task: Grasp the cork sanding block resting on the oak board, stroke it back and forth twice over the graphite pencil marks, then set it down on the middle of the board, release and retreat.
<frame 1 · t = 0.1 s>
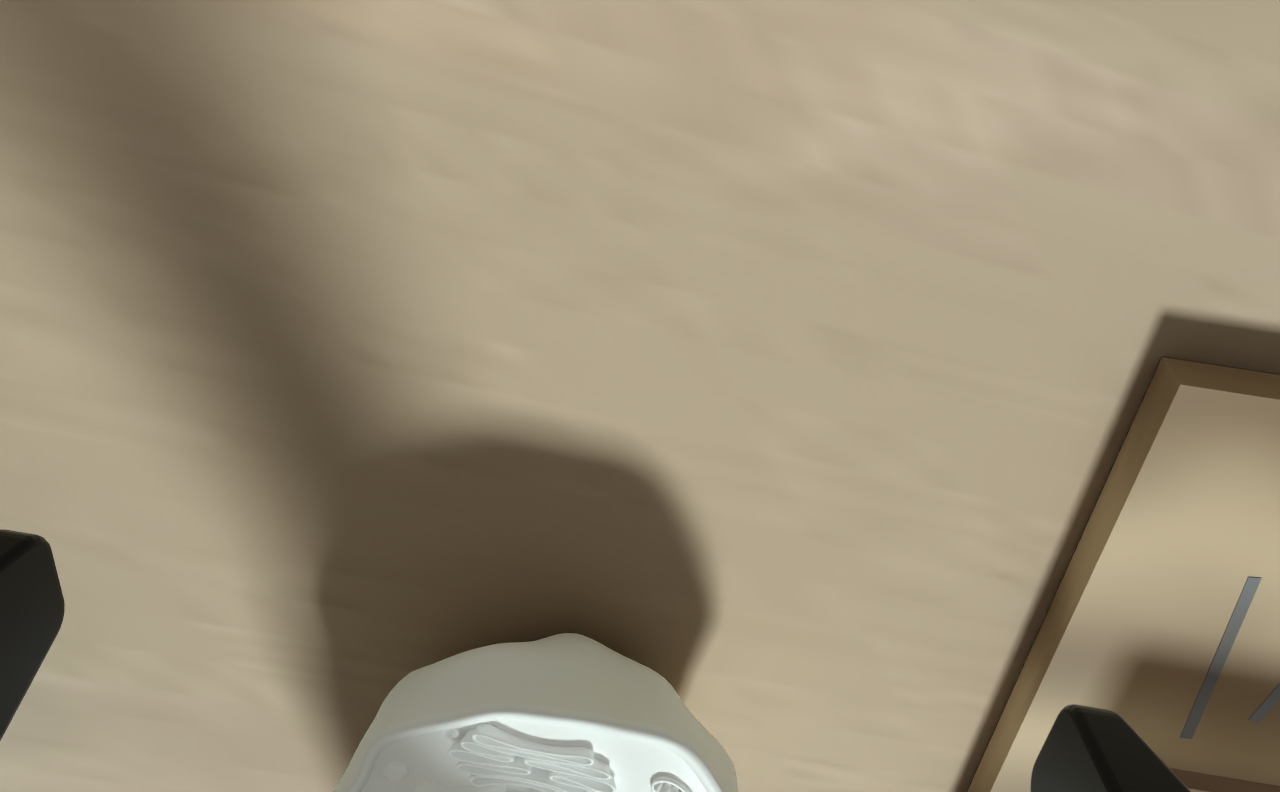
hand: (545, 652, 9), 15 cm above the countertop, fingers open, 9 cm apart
board: (1238, 678, 27), on the countertop
cell model: (557, 692, 31), on the countertop
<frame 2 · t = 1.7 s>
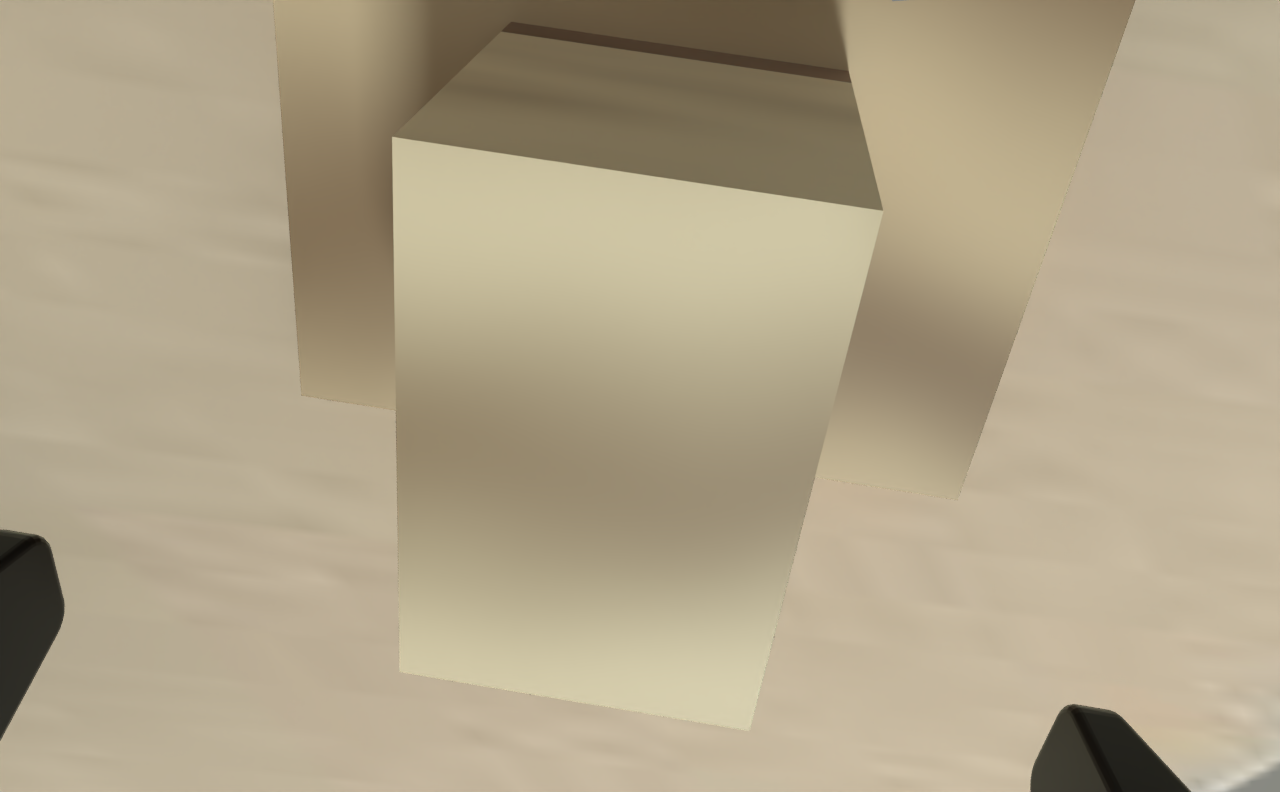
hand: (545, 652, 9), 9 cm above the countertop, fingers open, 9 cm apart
sanding block: (647, 284, 15), point 1 cm above the countertop, touching board
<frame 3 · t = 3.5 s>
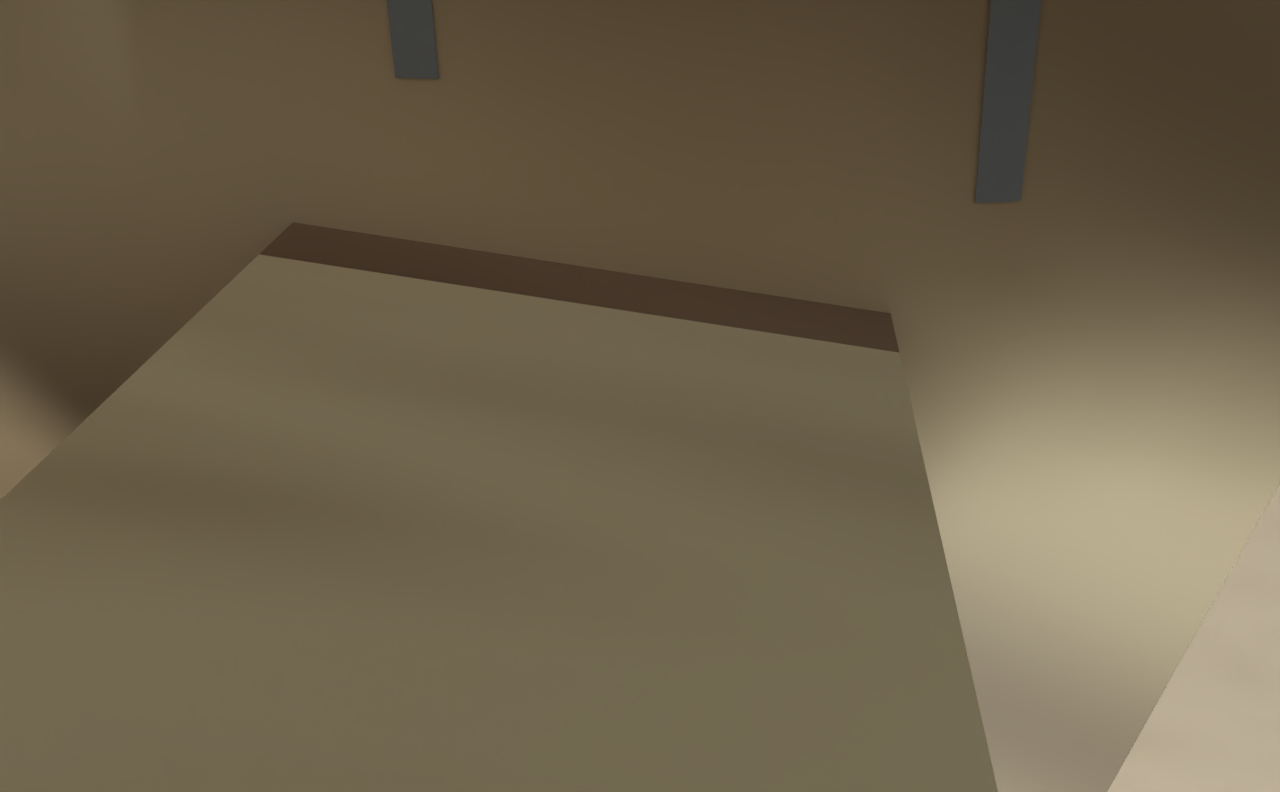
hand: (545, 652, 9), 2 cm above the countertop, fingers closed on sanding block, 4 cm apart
sanding block: (555, 611, 9), point 1 cm above the countertop, touching board, gripper
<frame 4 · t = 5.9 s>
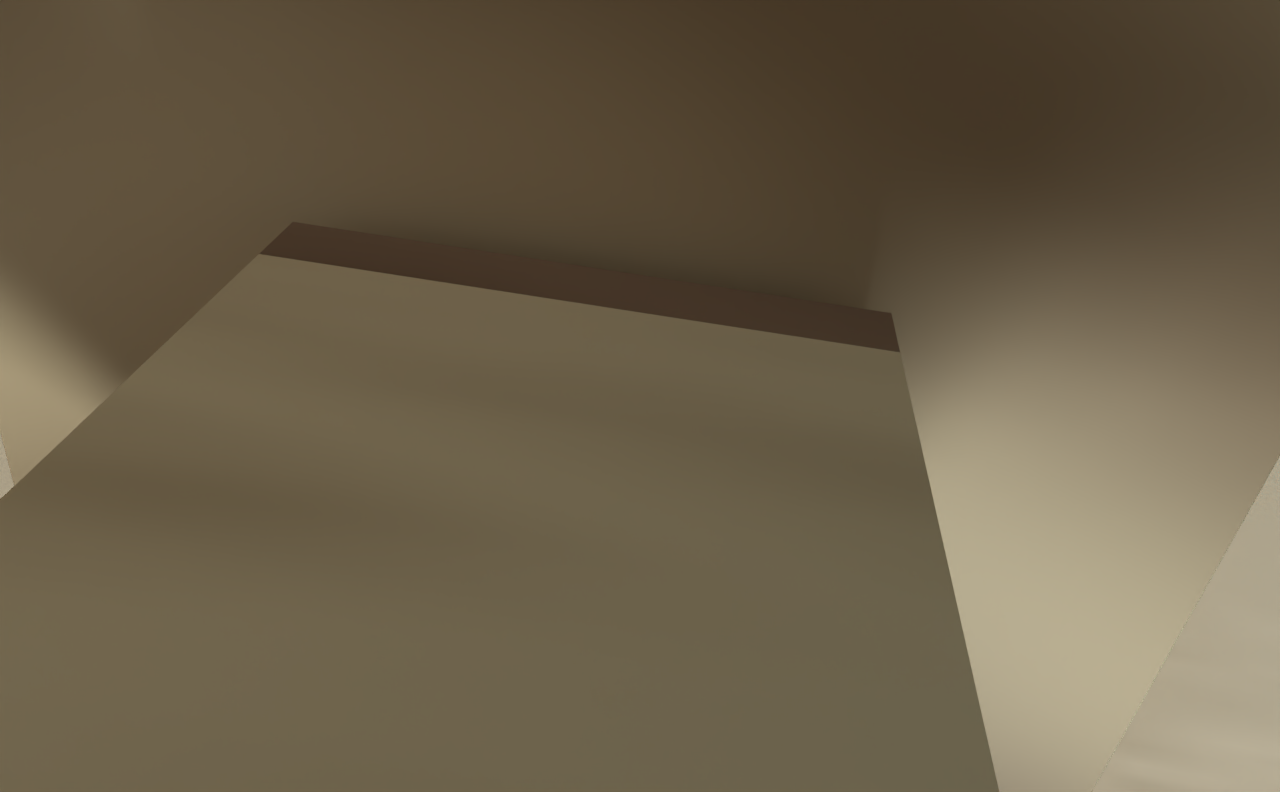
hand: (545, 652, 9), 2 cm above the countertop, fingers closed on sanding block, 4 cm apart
board: (576, 648, 12), on the countertop
sanding block: (555, 611, 9), point 2 cm above the countertop, touching gripper
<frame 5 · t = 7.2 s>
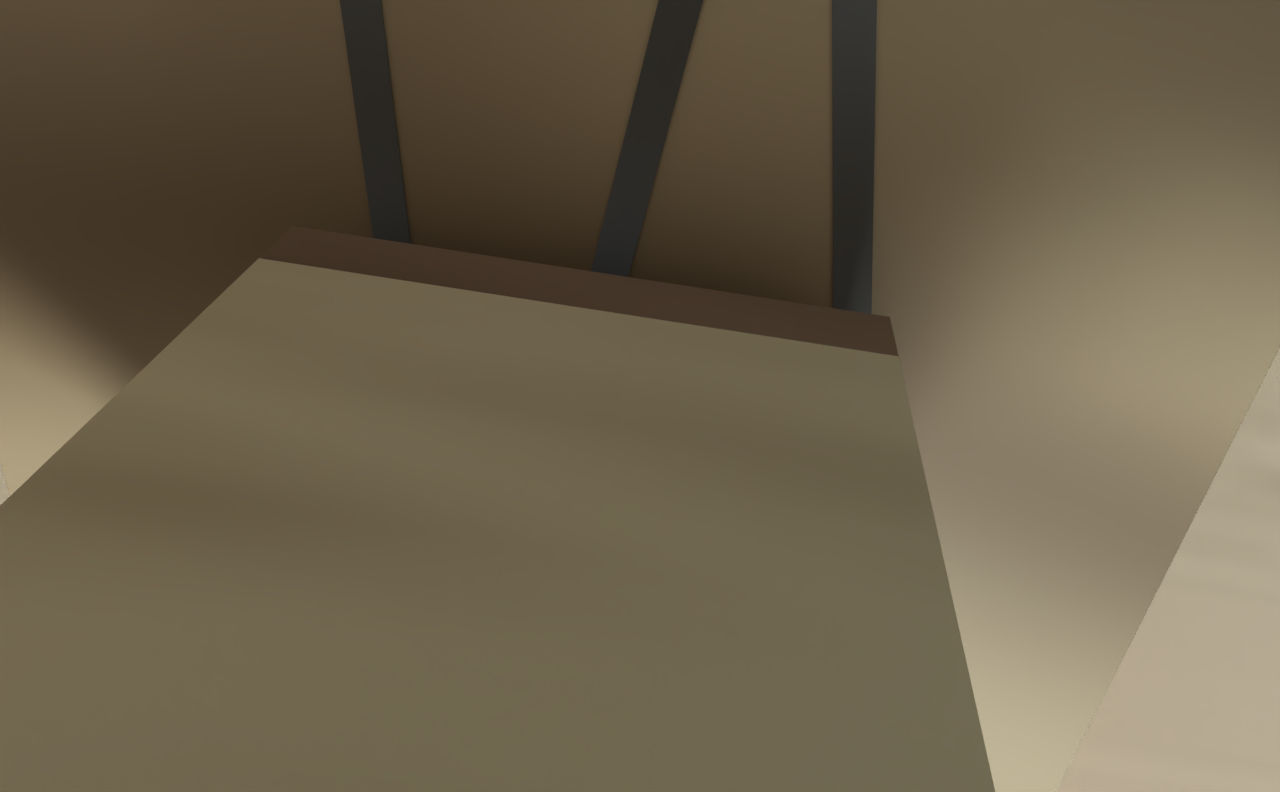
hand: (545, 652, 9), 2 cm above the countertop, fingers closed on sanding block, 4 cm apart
board: (592, 313, 10), on the countertop
sanding block: (555, 613, 9), point 2 cm above the countertop, touching gripper
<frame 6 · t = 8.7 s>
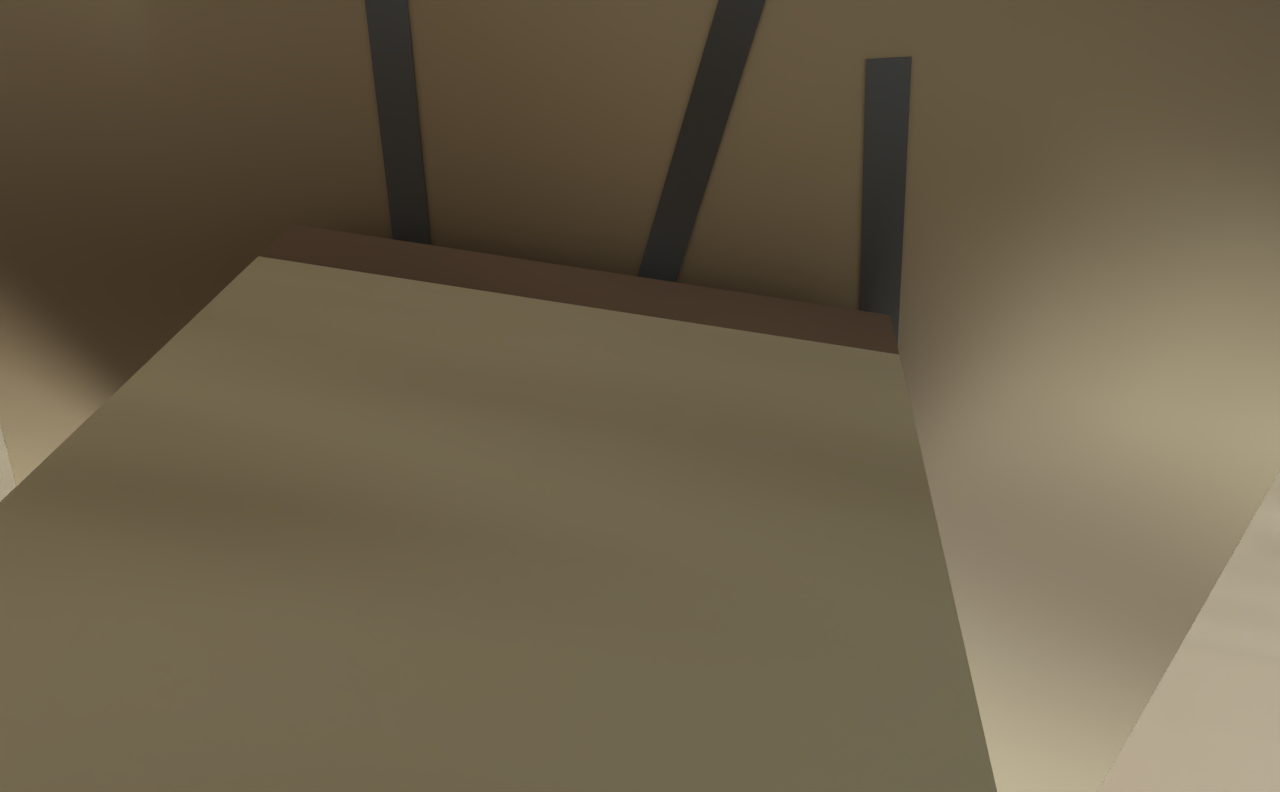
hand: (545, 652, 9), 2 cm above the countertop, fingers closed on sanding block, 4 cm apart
board: (613, 374, 10), on the countertop
sanding block: (555, 613, 9), point 2 cm above the countertop, touching gripper
when the fingers open (2 cm above the countertop, at t = 10.1 s): sanding block stays where it is, resting on board.
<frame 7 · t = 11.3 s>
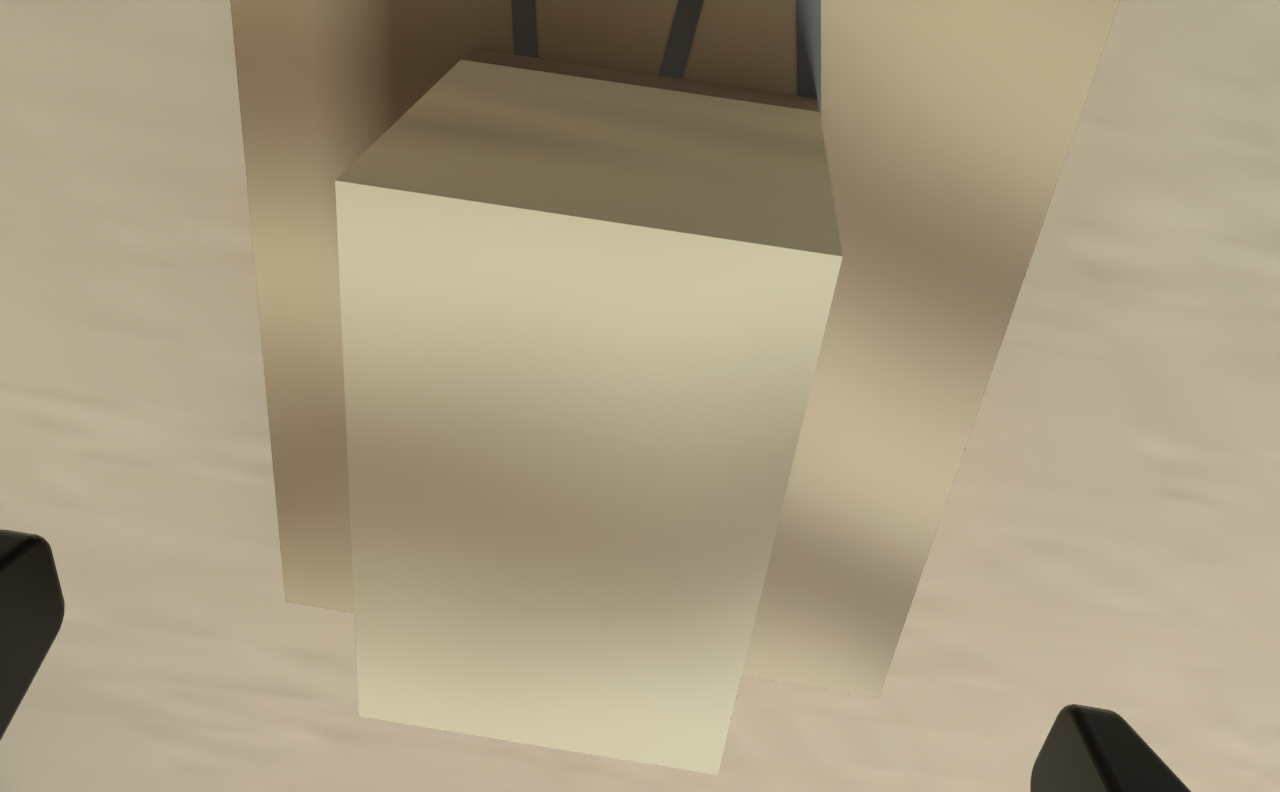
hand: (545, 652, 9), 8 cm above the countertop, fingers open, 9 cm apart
board: (643, 153, 15), on the countertop
sanding block: (616, 313, 15), point 1 cm above the countertop, touching board
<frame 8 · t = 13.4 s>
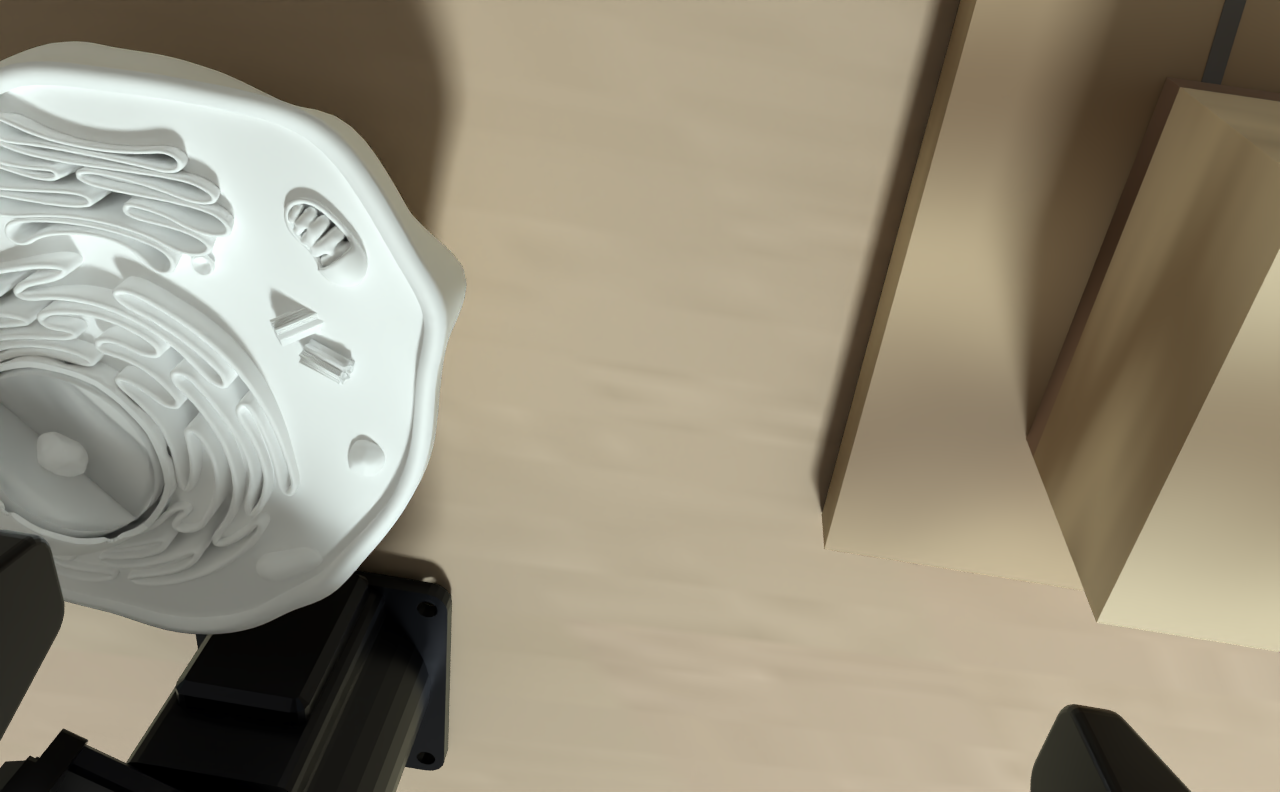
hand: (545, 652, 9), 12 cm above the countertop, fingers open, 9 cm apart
board: (1242, 162, 18), on the countertop
cell model: (257, 262, 21), on the countertop
sanding block: (1217, 296, 18), point 1 cm above the countertop, touching board
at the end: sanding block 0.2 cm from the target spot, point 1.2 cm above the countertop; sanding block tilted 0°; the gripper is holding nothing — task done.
